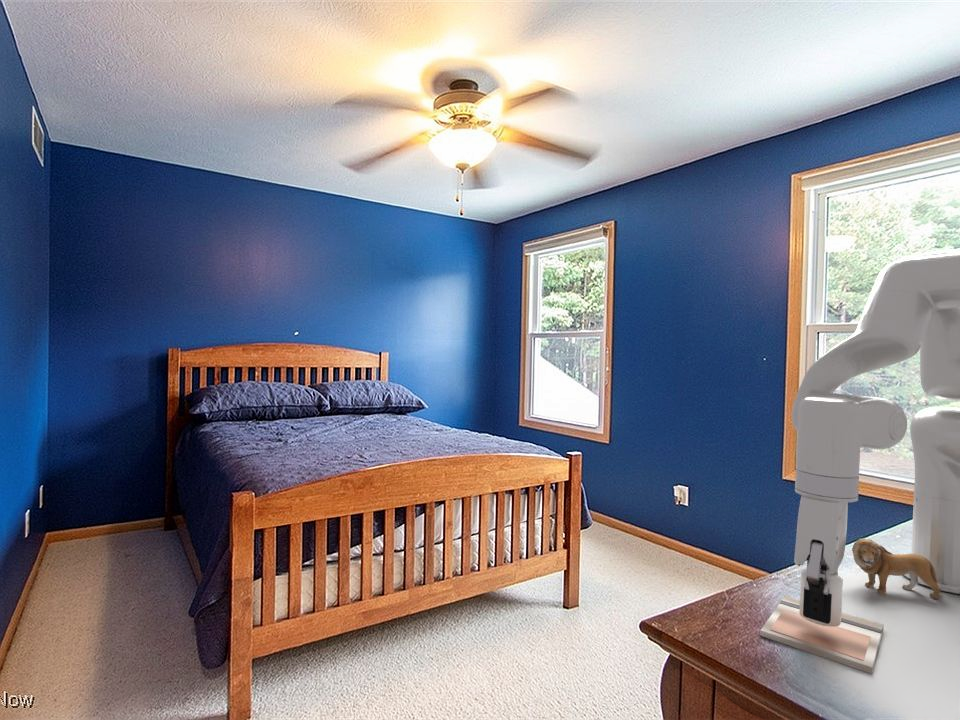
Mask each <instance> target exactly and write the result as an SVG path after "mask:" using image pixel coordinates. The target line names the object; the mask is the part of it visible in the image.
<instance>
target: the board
mask: <svg viewBox="0 0 960 720" xmlns="http://www.w3.org/2000/svg"><path fill="white" fill-rule="evenodd" d="M799 610H800V599H797V598H793V597H790V596H786V595H784V597H783V598H782V599H781V600H780V602H779V604H778V605H777V607H776V608H775V609H774V611H773V612H772V613H771V615H770V616H769V618H767V620H766V622H765V623H764V624H763V626H762V628H761V629H760V630H759V631H760V633H759V634H760V636H761V637H763V638H766V639H769V640H772V641H775V642H778V643H780V644H784V645H786V646H790V647H793V648H795V649H799V650H802V651H805V652H807V653H810V654H813V655H817V656H819V657H822V658H825V659H828V660H831V661H834V662H836V663H840V664H842V665H846V666H848V667H851V668H854V669H857V670H861V671H863V672H866V673H869V674H873V671H874V667H875V663H876V660H877V655H878V652H879V648H880V644H881V640H882V636H883V633H884V626H885V625H884V623H880V622H876V621H874V620H869V619H866V618H863V617H859V616H856V615H853V614H849V613H845V612H843V611H841V624H840V625H839V626H835V627H829V626H822V625H818V624H815V623H812V622H810V621H808V620H806V619H804V618H803V617H802V616H801V615H800V614H799Z"/></svg>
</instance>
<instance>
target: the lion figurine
mask: <svg viewBox="0 0 960 720" xmlns="http://www.w3.org/2000/svg"><path fill="white" fill-rule="evenodd" d="M851 551H852V556H853V560H854V562H855V564H856V565H857V566H859V568H860V569H861V570H862V571H863V572H864V573H866V574H867V577H868V582H865V584H864V586H866V587H867V588H874V586H875V584H876V575H877V577H878V581H879V584H878V585H879V586H878V588H876V592H877V594H880V595H885V594H886V593H887V581H888V578H889V576H893V577H894V576H895V577H898V576H899V577H901V576H904V575H905V574H909V576H910V579H909V580H910V582H909V583H908V584H903V585H902V586H901V587H902V589H903V590H908V591H911V590H913V589H914V588H915V587H916V586H918V584H919V583H918V577H919V578H920V579H921V580H922V581H923V582H924V583H926V584H927V585H928V586H930V587H929V588H931V589H932V590H933V592H931V593H929V594H928V595H929V598H931V599H934V600H939V598H940V595H941V593H940V592H942V590H940V589H939V586H938V584H937V578H936V573H935V569H934V567H933V565H932V564H931V562H930V561H929V560H928V559H926V558H925V557H923V556H920V555H917V554H911V553H906V554H899V553H897V554H896V553H895V554H894V553H892V552H890V551H888V550H887V549H886V548H885V547H884V546H883V545H879V544H878V543H876V542H875V541H874V540H872V539H870V538H865V537H863V538H859V539H857V540H856V541H855V542H854V543H853V546H852V548H851ZM928 586H927V587H928Z"/></svg>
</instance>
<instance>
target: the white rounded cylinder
mask: <svg viewBox="0 0 960 720" xmlns="http://www.w3.org/2000/svg"><path fill="white" fill-rule="evenodd" d="M820 575H821V576H820V577H821V578H823V580H824V581H825V575H823V574H820ZM805 579H806V568H804V569H802V570H801V572H800V589H799V590H800V591H799V600H800V610H799V614H800V615H801V616H802V617H803V618H804V619H806V620H808V621H810V622H812V623H815V624H818V625H822V626H829V627H835V626H839V625H840V624H841V612H843V611H842V607H843V605H842V604H843V586H844V580H843V578H842V577H841V576H840V575H839V574H838V575H836V574H834V573H832V574H831V578H830V590H829V594H832V601H831V621H830V623H829V624H826V623H823V622H820V621H816V620H813V619H810V618H806V617H805V616H804V615H803V601H804V587H805Z"/></svg>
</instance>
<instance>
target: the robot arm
mask: <svg viewBox="0 0 960 720" xmlns="http://www.w3.org/2000/svg"><path fill="white" fill-rule="evenodd" d="M918 352H919V369H920V372H919V375H920V376H919V378H920V385H921V388H922V390H923V392H924V394H926V395H927V396H928V397H931V398H934V399H937V400H943V401H944V400H945V401H951V402H953V401H954V402H960V248H957V249H956V248H955V249H945V250H943V249H942V250H935V251H929V252H922V253H915V254H911V255H907V256H903V257H902V258H899V259H897V260H896V261H893V262H891V263H889V264H886V266H884V267H883V268H882V269H881V271H880V272H879V273H878V275H877V277H876V279H875V282H874V285H873V287H872V289H871V292H870V295H869V297H868V300H867V302H866V305H865V306H864V310H863V312H862V315H861V317H860V320H859V323H858V325H857V328H856V329H855V332H854V333H853V334H852V335H851V336H849V337H848V338H845V339H844V340H843V341H841V342H839V343H838V344H836V345H834V346H833V347H832V348H831V349H829V350H828V351H827V352H826V353H824V354H823V355H821V356H820V357H819V358H818V359H817V360H815V362H814V363H813V364H812V365H811V366H810V367H809V368H808V370H807V371H806V373H805V375H804V376H803V379H802V381H801V383H800V385H799V389H798V390H797V392H796V395H795V399H794V401H793V403H792V410H791V422H792V425H793V428H794V430H796V432H797V435H796V457H795V458H796V459H795V480H794V482H795V483H794V491H795V493H796V494H798V495H801V497H800V502H799V508H798V515H797V523H796V524H797V525H796V536H795V548H794V558H793V559H794V560H793V561H794V564H795V565H796V566H797V567H801V566H804V565H805V563H806V567H805V569H806V579H805V587H804V601H803V615H804V616H805V617H806V618H810V619H813V620H816V621H820V622H823V623H826V624H829V623H830V621H831V601H832V594H829V590H830V578H831V574H832V573H834V574H836V575H838V576H839V574H838V573H839V571H838V569H839V567H840V566H841V564H842V562H843V560H844V557H845V552H846V551H845V550H846V541H847V529H848V506H849V505H848V503H854V502H855V503H856V502H858V501H859V484H860V481H859V480H860V462H861V461H860V460H861V449H862V448H863V449H870V450H887V449H890V448H892V447H895V446H896V445H898V444H899V443H900V442H901V441H902V440H903V439H904V437H905V435H906V432H907V430H908V417H907V414H906V413H905V411H904V409H903V408H902V407H901V406H900V405H899V403H896V402H895V401H893V400H890V399H888V398H884V397H883V398H882V397H877V396H867V395H866V396H864V395H855V394H847V393H846V394H845V393H844V394H843V393H835V391H836V390H837V389H838V388H839V387H840V386H841V385H842V384H844V383H846V382H847V381H849V380H851V379H853V378H854V377H857V376H861V375H863V374H866V373H869V372H873V371H876V370H880V369H882V368H885V367H889V366H893V365H895V364H899V363H901V362H904V361H906V360H909V359H912V358H913V357H914V356H916V354H918ZM909 433H910V440H911V446H912V452H913V461H914V487H913V488H914V489H913V491H914V492H913V510H912V530H911V553H910V554H917V555H920V556H923V557H925V558H926V559H928V560H929V561H930V562H931V564H932V565H933V567H934V569H935V573H936V578H937V584H938V586H939V589H940V590H941V592H942V591H943V592H947V593H952V594H958V595H960V407H954V406H953V407H951V406H933V407H927V408H923V409H921V410H919V411H917V412H916V414H914V415H913V417H912V419H911V421H910V427H909ZM820 574H823V575H825V581H824V580H823V578H821V577H820V576H821V575H820ZM903 576H904V577H905V578H907V579H909V580H911V579H910V576H909V574H905V575H903ZM918 584H920V585H922V586H926V587H928V588H931V587H930V586H928V585H927V584H926V583H924V582H923V581H922V580H921V579H920V578H919V577H918Z"/></svg>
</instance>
